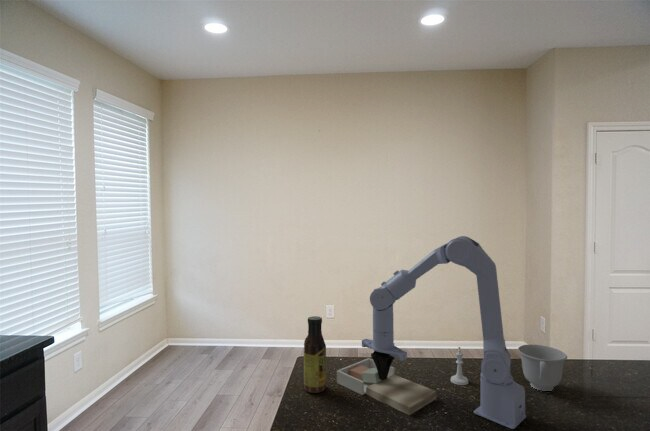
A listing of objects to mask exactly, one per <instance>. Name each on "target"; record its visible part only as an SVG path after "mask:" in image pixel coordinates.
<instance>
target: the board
mask: <svg viewBox="0 0 650 431" xmlns="http://www.w3.org/2000/svg"><path fill="white" fill-rule="evenodd" d="M366 396H368V397H370V398H373V399H375V400H376V401H379V402H381V403H382V404H384V405H387V406H389V407H392V408H393V409H395V410H396V411H399V412H402V413H403V414H406V415H407V416H411V415H413V414H414V413H416V412H417V411H419V410H421V409H422V408H424V407H425V406H427V405H429V404H430V403H431V402H433V401H435V400H436V399H437V390H435V389H432V388H430V387H427V386H424V385H422V384H419V383H416V382H414V381H412V380H409V379H406V378H403V377H401V376H399V375H396V374H395V373H394V374H393V375H391V376H389V377H387V379H385V380H382V381H380V382H378V383H374V384H372V385H370V386H368V387H366Z"/></svg>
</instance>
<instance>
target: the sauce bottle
mask: <svg viewBox="0 0 650 431" xmlns="http://www.w3.org/2000/svg"><path fill="white" fill-rule="evenodd" d="M322 323H323V318H322V317H320V316H317V315H316V316H309V317H308V318H307V324H308V326H307V327H308V328H307V336H306V337H305V339H304V344H303V388H304V390H305V391H306V392H308V393H311V394H318V393H322V392H323V391H325V389H326V383H327V345H326V343H325V342H326V341H325V339H324V336H323V333H322Z"/></svg>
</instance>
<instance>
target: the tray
mask: <svg viewBox="0 0 650 431" xmlns="http://www.w3.org/2000/svg"><path fill="white" fill-rule="evenodd" d="M358 365H362V366H365V367H367V368H370V369H371V368H376V365H375V363H374V360H373V359H372V358H370V357H367V358H365V359H362V360H360V361H358V362H355V363H353V364H350V365H348V366H345V367H343V368H340V369H338V370H336V384H338V385H341V386H342V387H345V388H347V389H348V390H350V391H353V392H355V393H357V394H359V395H361V396H364V395H365V394H366V387H368V386H370V385H372V384H374V383H369V382H363V381H361V380H359V379H357V378H355V377H352V376H350V375H349V369H351V368H353V367H356V366H358ZM393 374H394V375H395V367H393V366H392V365H391V366H390V369H389V373H388V377H389V376H391V375H393Z"/></svg>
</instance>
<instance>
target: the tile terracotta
mask: <svg viewBox="0 0 650 431" xmlns="http://www.w3.org/2000/svg"><path fill="white" fill-rule="evenodd" d="M369 369H370V368H367V367H365V366H362V365H358V366H356V367H353V368H351V369H349V375H350V376H352V377H355V378H357V379H359V380H361V381H363V379H362V372H364V371H366V370H369Z"/></svg>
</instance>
